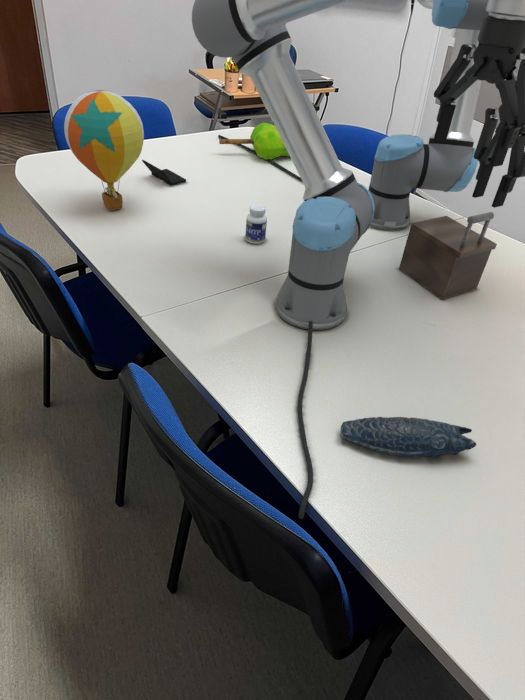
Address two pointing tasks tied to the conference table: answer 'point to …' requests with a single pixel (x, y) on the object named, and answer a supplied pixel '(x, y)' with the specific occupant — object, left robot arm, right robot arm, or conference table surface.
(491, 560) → the conference table surface
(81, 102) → the toy
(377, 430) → the fish model
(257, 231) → the pill bottle
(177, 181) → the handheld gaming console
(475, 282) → the chest
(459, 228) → the lid
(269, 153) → the decorative tree
